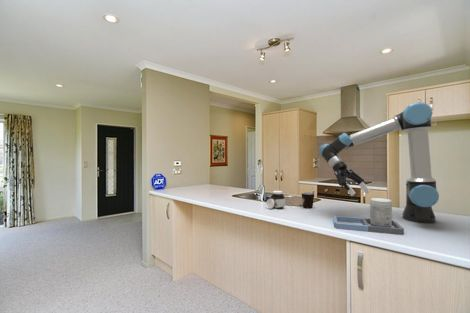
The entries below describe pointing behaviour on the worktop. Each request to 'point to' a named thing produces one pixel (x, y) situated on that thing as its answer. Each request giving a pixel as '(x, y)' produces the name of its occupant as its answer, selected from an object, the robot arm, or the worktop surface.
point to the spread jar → (276, 200)
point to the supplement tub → (381, 212)
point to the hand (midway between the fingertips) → (361, 193)
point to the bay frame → (366, 225)
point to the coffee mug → (307, 200)
